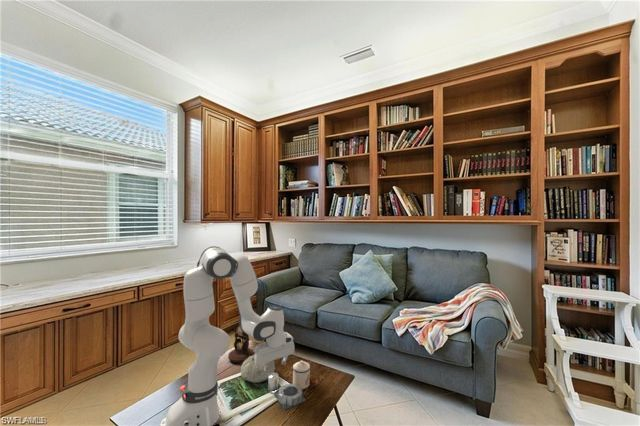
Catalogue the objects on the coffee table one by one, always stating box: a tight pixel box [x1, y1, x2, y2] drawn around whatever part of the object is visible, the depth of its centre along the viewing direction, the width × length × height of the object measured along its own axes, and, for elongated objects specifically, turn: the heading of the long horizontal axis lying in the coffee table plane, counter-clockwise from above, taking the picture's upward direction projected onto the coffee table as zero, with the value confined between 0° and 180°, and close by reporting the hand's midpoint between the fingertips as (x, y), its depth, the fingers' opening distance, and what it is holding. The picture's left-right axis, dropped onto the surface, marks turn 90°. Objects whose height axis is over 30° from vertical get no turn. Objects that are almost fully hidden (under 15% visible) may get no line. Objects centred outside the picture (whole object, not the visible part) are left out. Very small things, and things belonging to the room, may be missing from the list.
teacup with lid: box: [292, 360, 311, 390], centre depth 138 cm, size 12×9×12 cm
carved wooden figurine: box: [227, 322, 255, 365], centre depth 160 cm, size 15×15×20 cm
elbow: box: [267, 372, 280, 391], centre depth 131 cm, size 5×6×7 cm
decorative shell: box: [240, 354, 276, 384], centre depth 141 cm, size 18×18×10 cm
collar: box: [275, 383, 307, 411], centre depth 125 cm, size 11×11×3 cm
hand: (274, 367), depth 132 cm, fingers open, 8 cm apart
